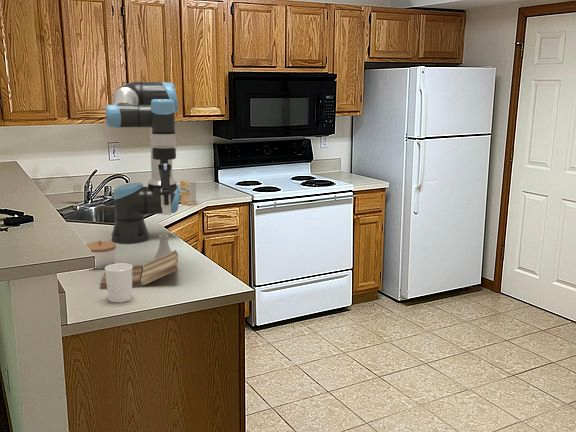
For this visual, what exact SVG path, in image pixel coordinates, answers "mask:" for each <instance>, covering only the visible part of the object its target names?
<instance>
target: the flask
mask: <svg viewBox="0 0 576 432" xmlns="http://www.w3.org/2000/svg"><path fill="white" fill-rule="evenodd" d="M158 238H159V245H158V249H157V251H156V254H155V257H154V259H153V260H155V259H157V258H159V257H161V256H163V255H166V254H168V253H170V252H172V250H171V247H170V245H169V240H168V239H169V235H168V234H166V233H164V234H159V235H158Z"/></svg>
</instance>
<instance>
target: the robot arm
mask: <svg viewBox="0 0 576 432" xmlns="http://www.w3.org/2000/svg"><path fill="white" fill-rule="evenodd" d="M176 90H177V89H176V86H175V85H174V83H173V82H166V81H165V82H164V81H132V82H128V83H125V84H123V85H121V86H119V87H117V88H116V89H115V91H114V92H113V95H112V103H113V104H107V105H106V106H105V123H106V126H107V127H109V128H117V129H118V128H149V137H150V138H149V140H150V143H149V144H150V170H151V171H150V172H151V178H150V179H149V181H147V186H144V184H143V183H142V182H132V183H124V184H121V185H118V186H116V187H115V188H114V190H113V200H114V225H113V229H112V232H111V241H112V242H113V243H119V244H137V243H138V244H139V243H142V242H145V241H148V240H149V238H150V236H149V235H150V233H149V230H148V228H147V226H146V225H147V224H146V222H145V215H159V214H161V215H162V216H167V215H169V216H170V215H172V214H175V213H177V212H178V209H179V207H180V206H179V205H180V200H181V194H180V185H179V184H178V185H177V180H175V179H174V177H173V160H175V159H177V153H176V152H177V151H176V149H177V148H176V147H175V146H176V145H177V142H176V141H177V140H176V113H178V112H179V102H178V98H177V97H178V96H177V91H176Z"/></svg>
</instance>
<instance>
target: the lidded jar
mask: <svg viewBox="0 0 576 432" xmlns="http://www.w3.org/2000/svg"><path fill="white" fill-rule="evenodd" d="M85 245H86V246H87V247H88V248H89V249H90V250H91V252H92V253H93V254H94V256H95V259H96V268H97V269H98V270H101V269H102V268H103V269H105V267H106V266H108V265H111V264H114V261H115V260H116V256H117V255H116V252H117V251H116V249H117V244H116V242H113V241H112V242H111V241H103V240H98V241H95V242H89V243H86V244H85ZM96 268H95V269H96ZM97 269H96V270H97Z"/></svg>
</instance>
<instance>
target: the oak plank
mask: <svg viewBox="0 0 576 432" xmlns="http://www.w3.org/2000/svg"><path fill="white" fill-rule="evenodd" d="M154 259H155V258H154ZM154 259H153V260H150V261H148V262H146V263H144V264H143V272H142V276H141V285H142V286H146V285H147V284H150V283H152V282H154V281H157V280H158V279H160V278H163V277H164V276H166V275H169V274H171V273H173V272H175V271H178V270H179V264H178V263H179V253H178V251H177V250H176V249H174V250H173V251H172V250H171V252H170V253H168V254H166V255H163V256H161V257H159V258H157V259H155V260H154Z"/></svg>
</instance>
